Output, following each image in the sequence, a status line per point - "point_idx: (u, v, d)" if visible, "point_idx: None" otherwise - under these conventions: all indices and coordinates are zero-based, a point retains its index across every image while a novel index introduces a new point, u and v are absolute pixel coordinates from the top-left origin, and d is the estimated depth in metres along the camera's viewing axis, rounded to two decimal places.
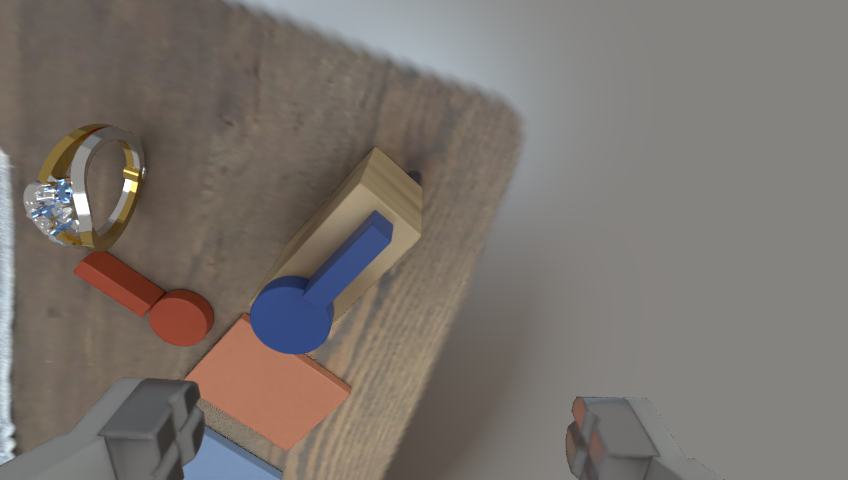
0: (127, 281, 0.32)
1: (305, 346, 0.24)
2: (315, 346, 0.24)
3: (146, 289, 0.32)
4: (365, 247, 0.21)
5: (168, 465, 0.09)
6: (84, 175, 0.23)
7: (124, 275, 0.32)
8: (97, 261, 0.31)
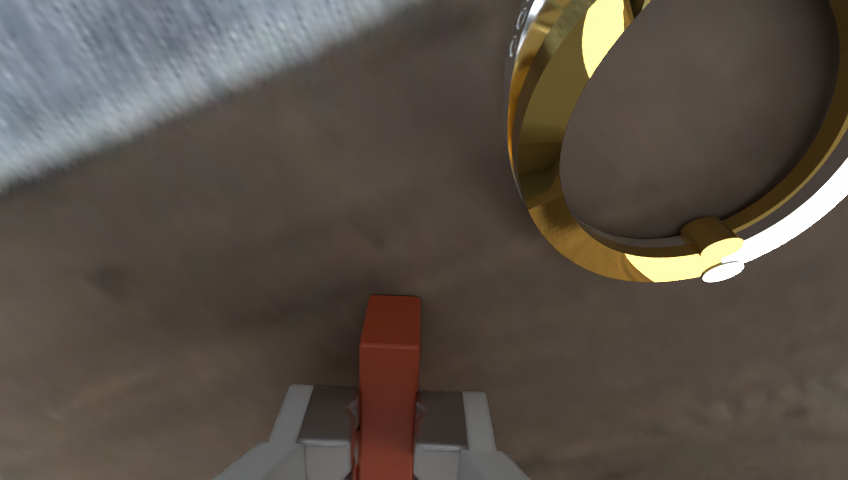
0: None
1: None
2: None
3: None
4: None
5: (351, 472, 0.09)
6: None
7: None
8: None
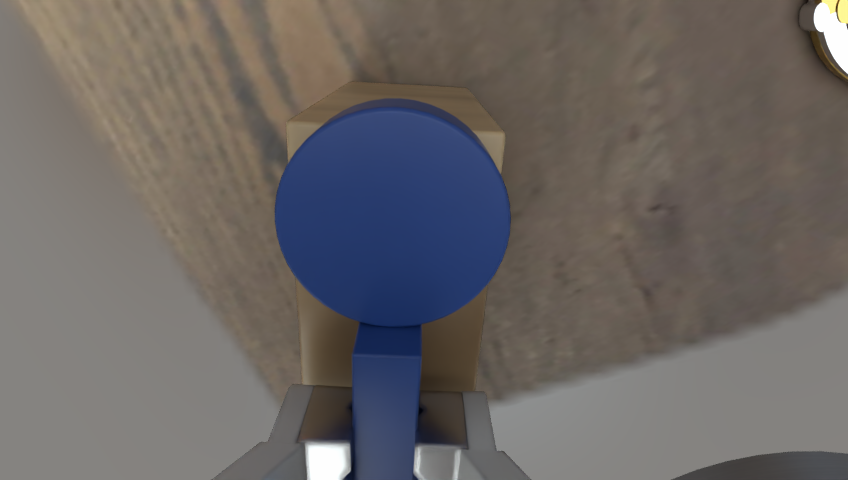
0: None
1: (303, 187, 0.08)
2: (283, 207, 0.08)
3: None
4: None
5: (351, 472, 0.09)
6: None
7: None
8: None
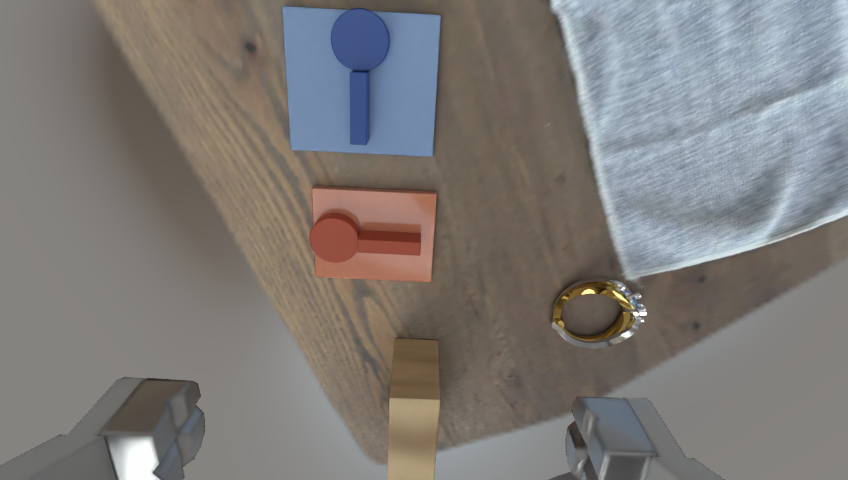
0: None
1: (338, 28, 0.32)
2: (333, 34, 0.32)
3: None
4: (359, 131, 0.34)
5: (168, 465, 0.09)
6: (635, 330, 0.41)
7: None
8: None
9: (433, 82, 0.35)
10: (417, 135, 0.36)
